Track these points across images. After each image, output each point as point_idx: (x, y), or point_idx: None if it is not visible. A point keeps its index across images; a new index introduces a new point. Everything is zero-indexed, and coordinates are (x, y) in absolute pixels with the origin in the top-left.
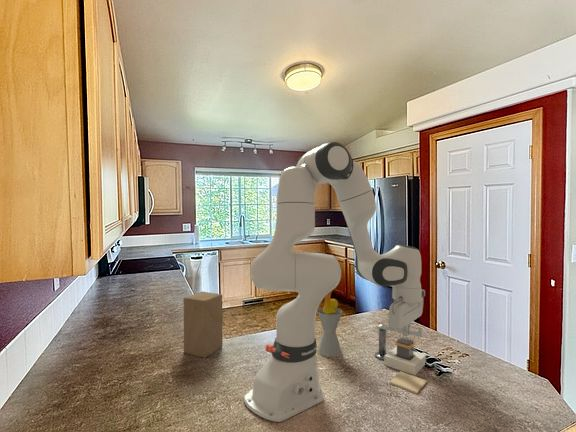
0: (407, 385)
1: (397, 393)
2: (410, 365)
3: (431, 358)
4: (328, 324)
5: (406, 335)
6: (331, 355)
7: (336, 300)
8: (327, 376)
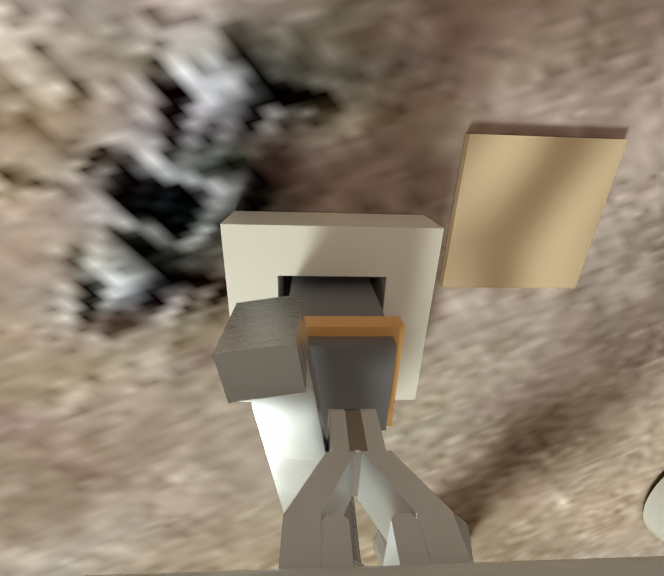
0: (575, 206)
1: (645, 223)
2: (437, 255)
3: (129, 205)
4: None
5: (376, 420)
6: (462, 524)
7: None
8: (612, 464)
